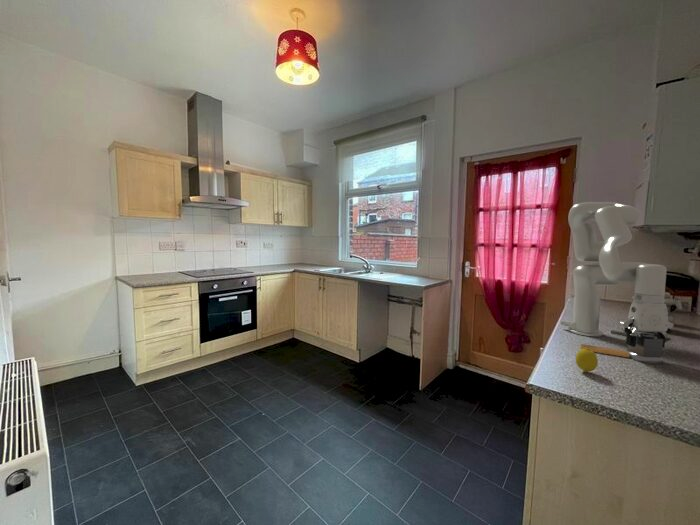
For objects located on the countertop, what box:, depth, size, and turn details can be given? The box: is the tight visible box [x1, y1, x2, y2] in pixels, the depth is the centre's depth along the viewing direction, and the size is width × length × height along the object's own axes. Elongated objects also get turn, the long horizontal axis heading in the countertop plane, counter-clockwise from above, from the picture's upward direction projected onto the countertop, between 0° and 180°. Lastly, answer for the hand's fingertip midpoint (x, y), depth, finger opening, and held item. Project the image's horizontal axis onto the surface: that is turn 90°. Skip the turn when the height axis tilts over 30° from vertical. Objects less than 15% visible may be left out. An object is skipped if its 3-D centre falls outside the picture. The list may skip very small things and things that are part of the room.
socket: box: [626, 332, 664, 358], centre depth 106 cm, size 6×6×8 cm
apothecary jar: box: [664, 291, 676, 323], centre depth 142 cm, size 12×12×18 cm
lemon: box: [575, 348, 599, 373], centre depth 95 cm, size 6×6×8 cm
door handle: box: [610, 329, 668, 338], centre depth 131 cm, size 3×20×16 cm
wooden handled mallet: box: [579, 343, 663, 365], centre depth 110 cm, size 22×9×5 cm, turn 57°
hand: (644, 345), depth 106 cm, fingers open, 9 cm apart
